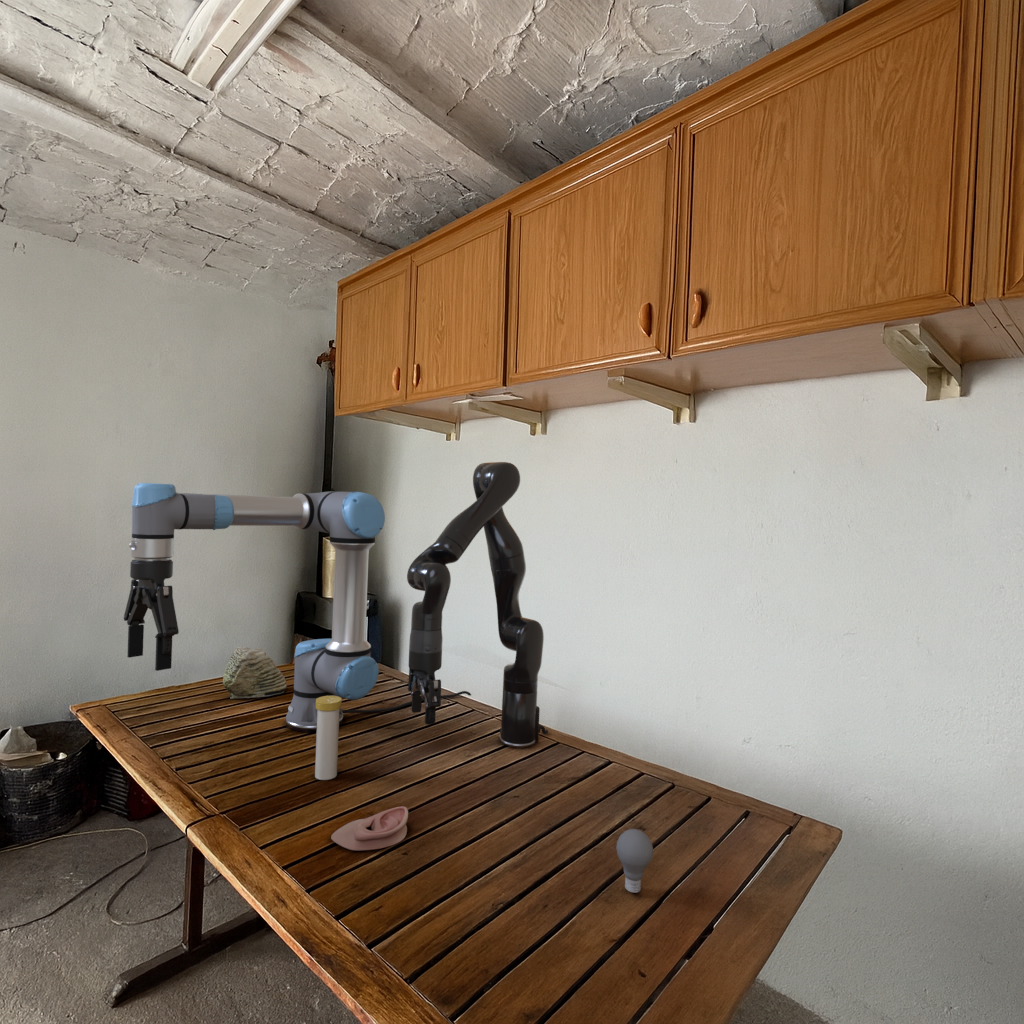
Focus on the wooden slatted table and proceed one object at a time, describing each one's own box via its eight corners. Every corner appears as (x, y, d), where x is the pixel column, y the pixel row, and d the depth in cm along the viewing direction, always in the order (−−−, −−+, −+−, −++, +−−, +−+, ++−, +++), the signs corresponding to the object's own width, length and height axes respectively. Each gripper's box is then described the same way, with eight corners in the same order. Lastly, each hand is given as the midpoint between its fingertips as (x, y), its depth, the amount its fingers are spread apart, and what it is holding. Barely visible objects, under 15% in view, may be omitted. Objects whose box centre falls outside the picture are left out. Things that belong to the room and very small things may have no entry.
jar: (327, 769, 147) (330, 696, 147) (341, 774, 145) (344, 701, 144) (310, 775, 143) (313, 701, 143) (324, 782, 141) (327, 706, 140)
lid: (330, 701, 148) (330, 694, 148) (346, 706, 144) (347, 699, 144) (310, 707, 143) (310, 699, 143) (326, 712, 140) (326, 705, 140)
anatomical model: (323, 824, 115) (352, 795, 126) (322, 845, 115) (351, 815, 126) (392, 835, 112) (415, 805, 123) (391, 857, 112) (414, 825, 123)
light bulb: (610, 879, 108) (613, 822, 108) (644, 879, 109) (647, 822, 109) (619, 902, 102) (622, 840, 102) (655, 901, 103) (658, 840, 103)
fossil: (218, 695, 195) (220, 647, 195) (278, 685, 208) (279, 640, 207) (228, 703, 189) (230, 653, 188) (289, 692, 201) (290, 645, 201)
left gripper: (108, 554, 134) (104, 654, 134) (159, 565, 118) (155, 678, 119) (146, 552, 140) (143, 648, 140) (199, 563, 124) (195, 671, 124)
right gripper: (453, 653, 141) (450, 725, 141) (429, 639, 153) (426, 706, 154) (421, 656, 137) (418, 730, 137) (399, 642, 150) (396, 710, 150)
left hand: (148, 662), depth 129 cm, fingers open, 13 cm apart
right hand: (422, 717), depth 146 cm, fingers open, 8 cm apart
